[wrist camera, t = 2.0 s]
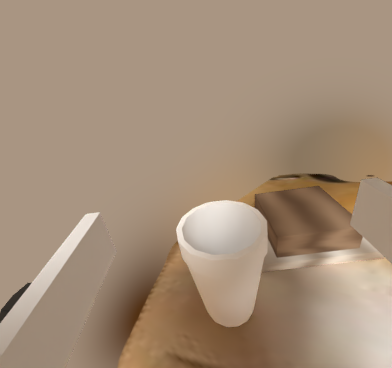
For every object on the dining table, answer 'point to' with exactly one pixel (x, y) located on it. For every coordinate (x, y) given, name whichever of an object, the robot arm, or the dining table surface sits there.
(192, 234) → the foam cup
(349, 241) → the build base
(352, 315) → the dining table surface
